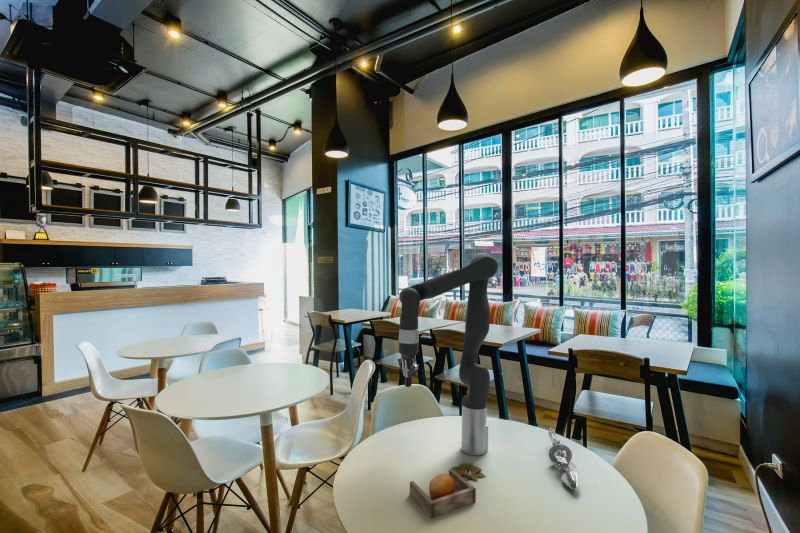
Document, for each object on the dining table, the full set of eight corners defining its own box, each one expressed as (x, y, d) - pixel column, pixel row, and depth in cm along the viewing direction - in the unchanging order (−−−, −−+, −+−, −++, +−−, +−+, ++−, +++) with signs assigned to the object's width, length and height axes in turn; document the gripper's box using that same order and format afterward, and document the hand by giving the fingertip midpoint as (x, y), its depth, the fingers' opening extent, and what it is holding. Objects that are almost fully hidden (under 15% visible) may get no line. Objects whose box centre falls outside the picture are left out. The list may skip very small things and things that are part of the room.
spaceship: (562, 424, 149) (543, 415, 150) (592, 483, 114) (567, 471, 115) (554, 440, 150) (535, 432, 151) (581, 504, 116) (556, 492, 117)
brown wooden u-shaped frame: (451, 481, 122) (451, 468, 122) (475, 501, 111) (475, 488, 111) (409, 494, 114) (409, 481, 114) (430, 518, 103) (431, 504, 103)
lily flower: (473, 462, 135) (473, 449, 135) (492, 480, 123) (493, 466, 123) (444, 467, 130) (444, 454, 130) (461, 487, 119) (461, 473, 119)
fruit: (460, 505, 107) (446, 479, 108) (436, 515, 109) (423, 489, 110) (462, 489, 115) (450, 465, 116) (441, 498, 117) (428, 474, 118)
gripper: (426, 343, 136) (425, 390, 136) (408, 336, 147) (407, 380, 148) (408, 345, 132) (407, 393, 132) (391, 338, 144) (391, 382, 144)
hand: (407, 386), depth 140 cm, fingers closed
